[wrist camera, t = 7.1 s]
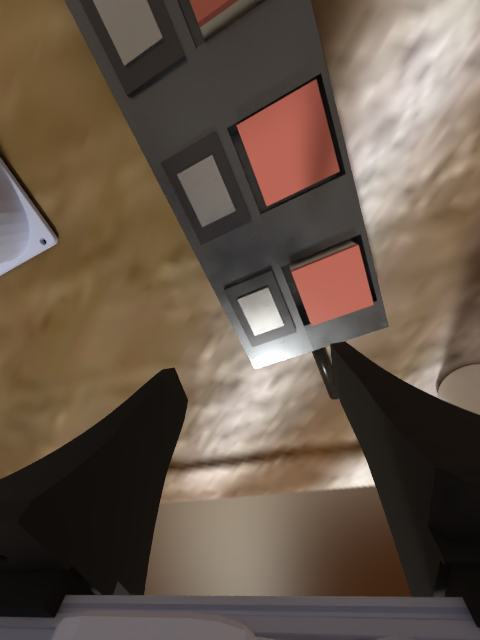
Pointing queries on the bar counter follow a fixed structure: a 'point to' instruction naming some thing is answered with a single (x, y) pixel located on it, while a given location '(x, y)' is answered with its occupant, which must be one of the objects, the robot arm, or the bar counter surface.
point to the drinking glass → (462, 388)
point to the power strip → (235, 158)
